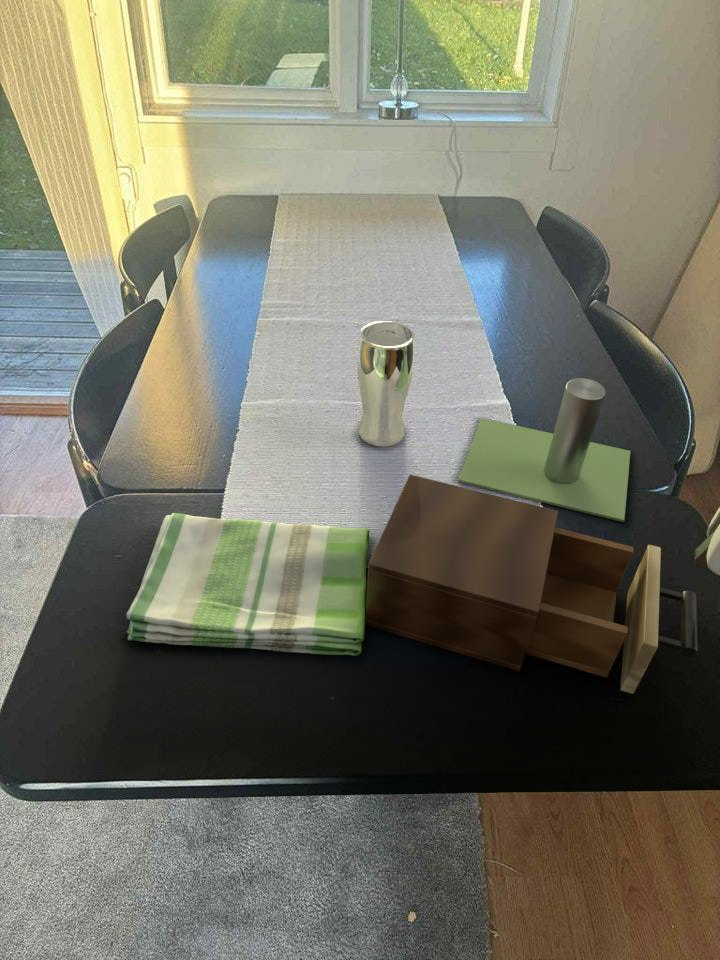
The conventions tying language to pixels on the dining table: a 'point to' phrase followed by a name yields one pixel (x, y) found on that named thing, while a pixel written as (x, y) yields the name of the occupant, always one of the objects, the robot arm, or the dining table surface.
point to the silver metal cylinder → (573, 430)
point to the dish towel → (253, 586)
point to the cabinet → (461, 571)
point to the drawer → (605, 609)
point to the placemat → (520, 470)
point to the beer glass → (384, 380)
